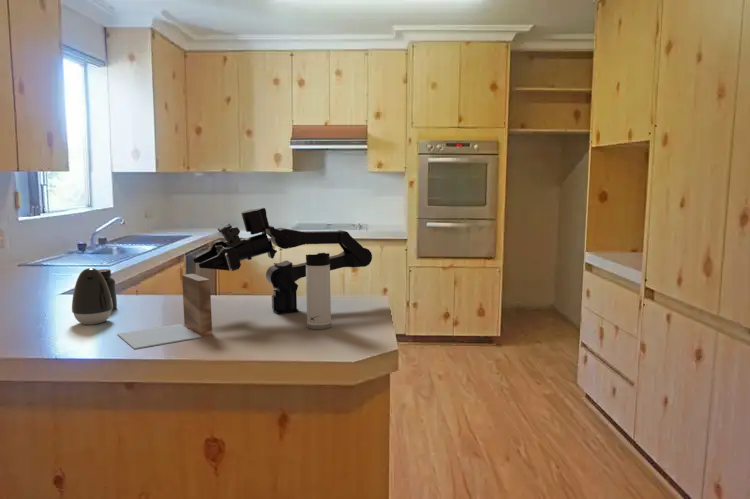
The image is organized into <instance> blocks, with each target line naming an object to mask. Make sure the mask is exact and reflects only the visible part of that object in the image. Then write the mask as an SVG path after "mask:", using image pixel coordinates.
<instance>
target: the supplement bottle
mask: <svg viewBox="0 0 750 499" xmlns="http://www.w3.org/2000/svg"><path fill="white" fill-rule="evenodd" d="M97 270H98V271H99V272H100V273H101V274H102V276H103V277H104V279H105V281H106V283H107V286H108V288H109V291H110V294H111V298H112V303H113V309H112V311H113V310H116V309H117V308H118V300H117V287H116V286H117V285H116V280H115V279H114V278H112V272H111V271H112V270H111V269H109V268H107V269H97Z"/></svg>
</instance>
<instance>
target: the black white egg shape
mask: <svg viewBox="0 0 750 499" xmlns="http://www.w3.org/2000/svg"><path fill="white" fill-rule="evenodd" d="M98 270H99V269H96V268H93V267H92V268H91V267H89V268H85V269H83V270H82V271H81V272H80V273H79V275H78V277H77V279H76V282H75V285H74V290H73V295H72V300H71V302H72V303H71V312H72V313H73V316H74V318H75V320H76V321H77V322H78V323H81V324H82V325H89V326H90V325H93V326H94V325H98V324H99V325H100V324H102V323H104V322H106V321H107V320H108V319H109V318H110V316H111V315H112V312H113V310H112V309H113V303H112V298H111V294H110V291H109V288H108V286H107V283H106V281H105V279H104V277H103V276H102V274H101V273H100V272H99V271H98Z"/></svg>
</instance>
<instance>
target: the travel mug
mask: <svg viewBox="0 0 750 499" xmlns="http://www.w3.org/2000/svg"><path fill="white" fill-rule="evenodd" d="M329 260H330V253H329V252H328V253H327V252H318V253H317V254H305V262H306V277H305V282H306V283H305V284H306V287H305V288H306V320H307V322H306V325H307V328H308V329H310V330H326V329H329V328H331V326H332V310H331V308H332V307H331V302H332V301H331V298H332V297H331V296H332V295H331V271H330V267H329V266H330V262H329Z"/></svg>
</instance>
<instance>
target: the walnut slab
mask: <svg viewBox="0 0 750 499" xmlns="http://www.w3.org/2000/svg"><path fill="white" fill-rule="evenodd" d="M181 283H182V299H183V300H182V301H183V318H184V320H183V322H184V325H183V326H185V327H186V328H189V329H190V330H192V331H194V332H195V333H197V334H198V335H200V336H202V337H203V336H208V335H212V334H213V324H212V322H213V321H212V320H213V319H212V317H213V316H212V300H211V299H212V298H211V294H212V293H211V280H210V279H209V278H206V277H204V276H201V275H199V274H197V273H196V274H195V273H187V274H181Z"/></svg>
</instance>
